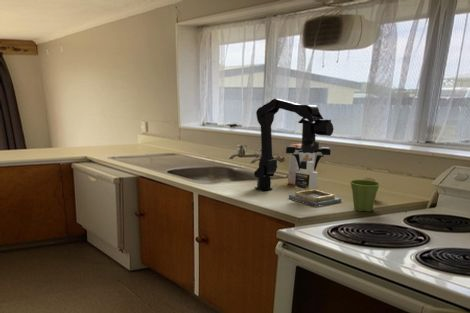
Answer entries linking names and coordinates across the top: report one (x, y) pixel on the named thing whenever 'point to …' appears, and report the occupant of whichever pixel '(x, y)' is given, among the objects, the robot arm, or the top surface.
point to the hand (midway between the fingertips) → (307, 169)
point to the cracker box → (294, 165)
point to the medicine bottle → (306, 176)
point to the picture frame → (315, 197)
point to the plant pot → (364, 194)
